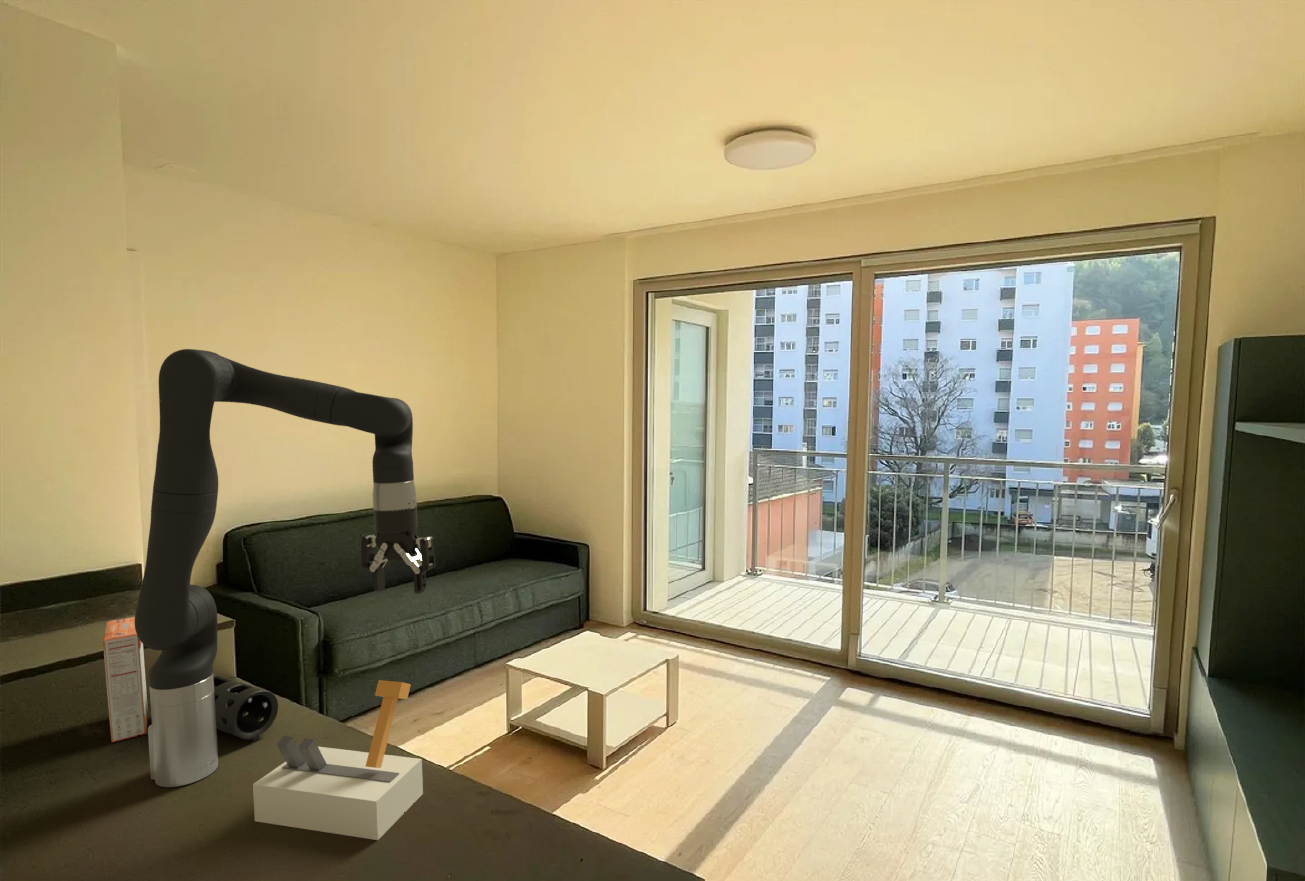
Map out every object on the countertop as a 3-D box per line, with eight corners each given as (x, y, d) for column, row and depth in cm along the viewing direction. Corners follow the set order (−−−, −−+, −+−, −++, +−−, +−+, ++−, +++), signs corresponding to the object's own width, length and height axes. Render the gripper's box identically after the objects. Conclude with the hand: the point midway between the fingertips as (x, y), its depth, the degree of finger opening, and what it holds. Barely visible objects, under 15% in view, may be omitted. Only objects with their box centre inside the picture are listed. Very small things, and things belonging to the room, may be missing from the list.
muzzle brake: (232, 754, 125) (229, 700, 124) (153, 722, 138) (150, 673, 137) (281, 731, 133) (278, 681, 133) (202, 703, 146) (200, 657, 146)
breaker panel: (254, 821, 104) (251, 748, 103) (310, 778, 116) (307, 712, 115) (377, 840, 99) (374, 763, 99) (423, 793, 111) (420, 724, 110)
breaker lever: (356, 765, 105) (378, 680, 111) (366, 765, 108) (387, 682, 113) (380, 768, 104) (402, 682, 110) (390, 768, 107) (410, 684, 112)
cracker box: (112, 717, 140) (106, 620, 139) (148, 709, 144) (142, 614, 142) (108, 744, 129) (101, 639, 127) (147, 735, 132) (140, 632, 131)
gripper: (348, 508, 121) (353, 595, 122) (416, 509, 117) (421, 599, 118) (375, 501, 128) (380, 584, 129) (440, 502, 125) (444, 587, 126)
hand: (399, 591), depth 124 cm, fingers open, 8 cm apart
